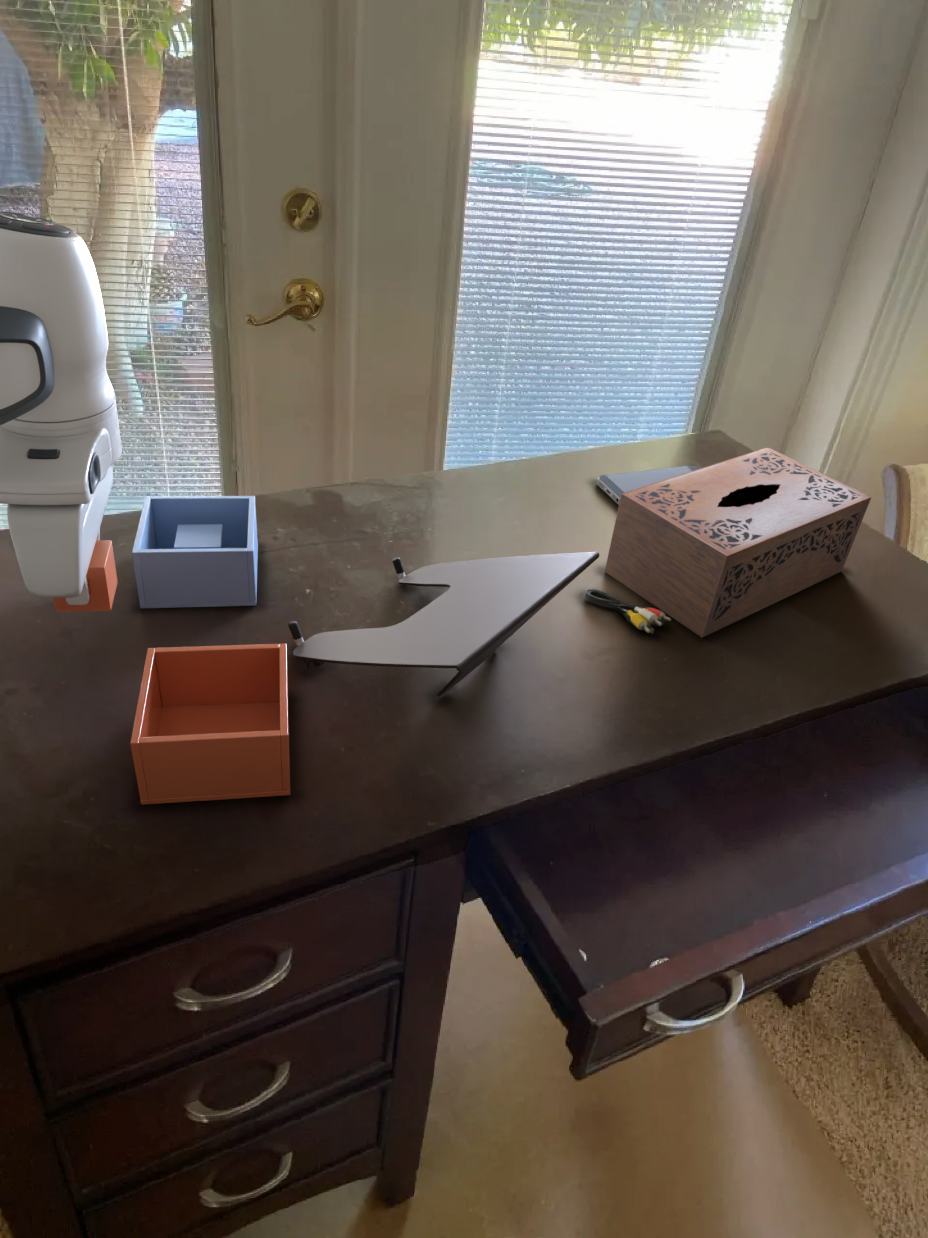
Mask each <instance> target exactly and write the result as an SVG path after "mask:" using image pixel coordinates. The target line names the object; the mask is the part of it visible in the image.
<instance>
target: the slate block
mask: <svg viewBox="0 0 928 1238" xmlns="http://www.w3.org/2000/svg"><path fill="white" fill-rule="evenodd" d="M223 548H225V547H224V535H223V524H201V525H178V526H177V532H176V538H175V544H174V549H223Z"/></svg>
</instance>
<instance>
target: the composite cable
mask: <svg viewBox="0 0 928 1238" xmlns="http://www.w3.org/2000/svg"><path fill="white" fill-rule="evenodd" d="M584 592H585V594H584V599H585V600H586V601H587V602H589V603H592V604H594V605H597V606H601V607H604V608H609V609H612V610H614V611H617V612H619V614H622V616H623V617H624V618H625V619H626V622H628V623H629V624H631V625H632V626H633V627H634V628H636V629H638V630H640V631H643V632H645V633H647V634H650V633H651V634H654V633H655V628H654V627H661V626H663V625H664V624H665V621H667V622H671V621H672V617H670V616H667V614H666V613H665V612H663V611H662V610H660V609H659V608H655V607H650V606H649V607H648V606H640V605H636V604H631V603H628V602H625V601H623V600H621V599H620V598H617V597H615V596H614V595H611V594H609V593H608V592H605V591H602V590H600V589H595V588H593V589H592V588H590V589H589V588H588V589H585V591H584Z"/></svg>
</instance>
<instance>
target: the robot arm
mask: <svg viewBox="0 0 928 1238" xmlns="http://www.w3.org/2000/svg"><path fill="white" fill-rule="evenodd" d="M91 255H92V254H91V253H90V250H89V248H88V246H87V244H86V243H85V241H84V240H83V238H82V237H81V236H80V235H78V234H77V232H75V231H74V230H72V229H71V228H69V227H67V226H65V225H62V224H60V223H58V222H55V221H53V220H52V221H51V220H49V219H45V218H41V217H39V216H36V217H35V216H33V215H26V214H24V213H18V212H11V211H1V210H0V504H3V505H4V504H5V505H7V508H6V515H7V516H6V517H7V525H8V529H9V534H10V538H11V542H12V545H13V548H14V553H15V556H16V561H17V563H18V567H19V570H20V574H21V577H22V579H23V582H24V585H25V587H26V589H27V590H28V592H29V593H30V594H31V595H33V597H35V598H39V599H53V598H66V602H67V603H68V604H70V605H86V604H87V603H88V602H89V598H90V594H91V589H90V583H89V579H86V574H87V571H88V567H89V564H90V560H91V557H92V553H93V550H94V547H95V543H96V540H101V539H100V538H101V537H100V536H101V534H100V533H101V525H102V523H103V520H104V519H103V518H104V515H105V511H106V508H107V504H108V501H109V497H110V494H111V491H112V488H113V483H114V470H113V465H114V464H116V463H117V462H118V461H119V459H120V458H121V456H122V454H123V447H122V440H121V432H120V424H119V423H120V422H119V415H118V410H117V409H118V408H117V407H118V406H117V400H116V393H115V390H114V387H113V384H112V382H111V380H110V378H109V375H108V371H107V354H108V350H109V337H108V329H107V321H106V315H105V308H104V302H103V296H102V291H101V287H100V286H101V285H100V281H99V278H98V275H97V269H96V267H95V263H94V261H93V258H92V256H91Z"/></svg>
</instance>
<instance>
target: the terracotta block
mask: <svg viewBox="0 0 928 1238" xmlns="http://www.w3.org/2000/svg"><path fill="white" fill-rule="evenodd" d="M86 579H89V583H90V589H91V594H90V598H89V602H88V603H87V604H86V605H70V604H68V603H67V602H66V598H52V599H53V603H54V609H55V612H57V613H58V612H60V613H61V612H110V611H112V608H113V604H114V600H115V596H116V590H117V586H118V576H117V569H116V561H115V553H114V547H113V540H111V539H109V540H108V539H107V540H106V539H104V540H103V539H102V540H101V539H99V540H96V543H95V547H94V550H93V553H92V557H91V560H90V564H89V567H88V571H87V574H86Z"/></svg>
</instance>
